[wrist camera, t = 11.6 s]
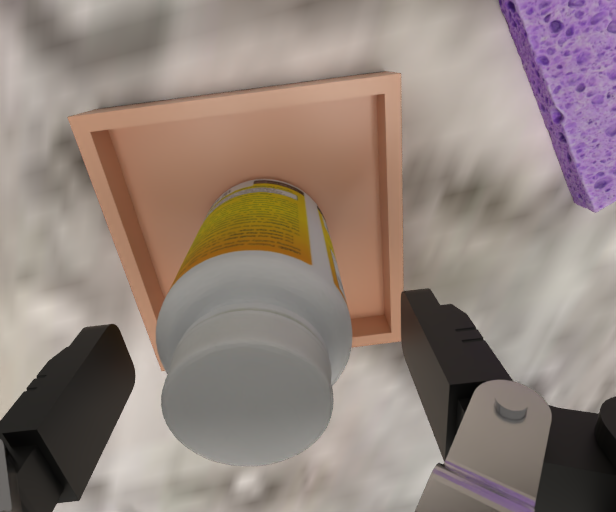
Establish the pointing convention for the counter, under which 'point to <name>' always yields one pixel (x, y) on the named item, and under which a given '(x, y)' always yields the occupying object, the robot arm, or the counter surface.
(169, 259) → the tray
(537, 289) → the counter surface
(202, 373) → the supplement bottle
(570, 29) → the sponges
